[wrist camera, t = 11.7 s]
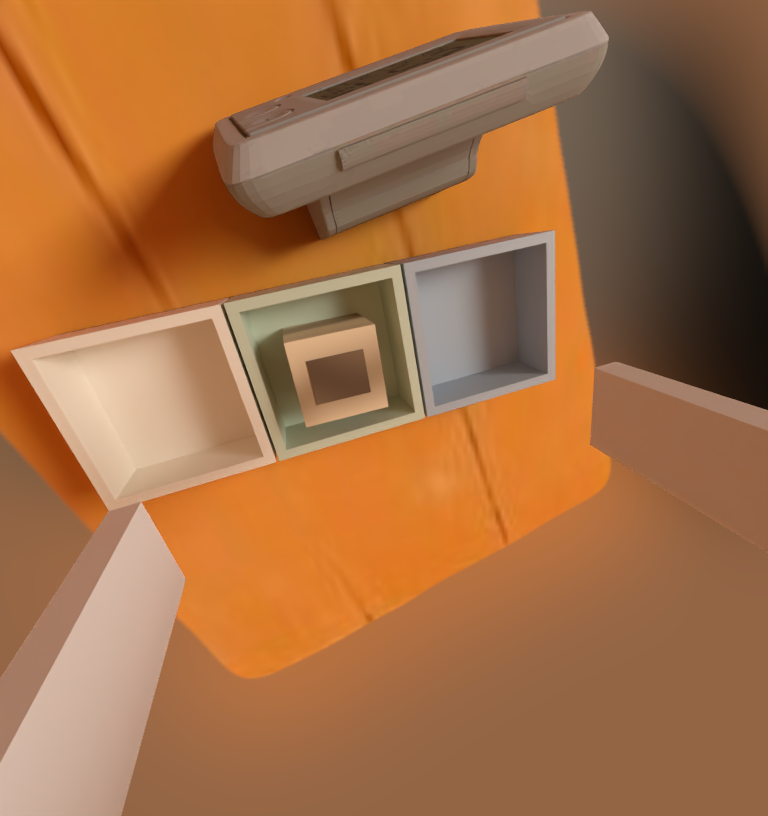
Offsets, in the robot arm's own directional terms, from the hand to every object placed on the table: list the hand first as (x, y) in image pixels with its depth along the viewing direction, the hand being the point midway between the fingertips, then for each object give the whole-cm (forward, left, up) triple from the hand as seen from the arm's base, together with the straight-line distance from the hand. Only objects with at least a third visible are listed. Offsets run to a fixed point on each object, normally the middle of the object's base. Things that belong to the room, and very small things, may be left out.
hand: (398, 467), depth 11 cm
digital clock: (-11, +5, -17) cm, 21 cm away
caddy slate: (0, +10, -17) cm, 20 cm away
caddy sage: (0, 0, -17) cm, 17 cm away
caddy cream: (0, -10, -17) cm, 20 cm away
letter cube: (+1, 0, -16) cm, 16 cm away
